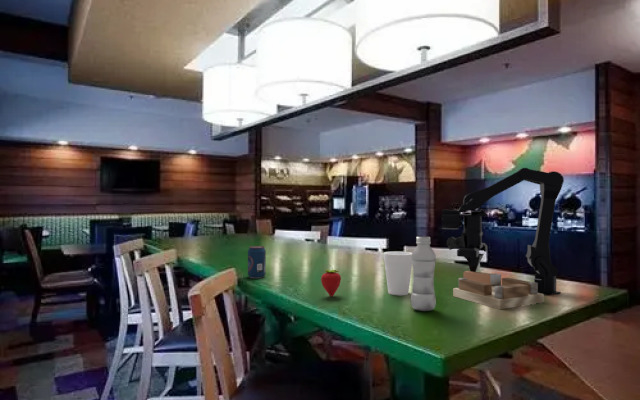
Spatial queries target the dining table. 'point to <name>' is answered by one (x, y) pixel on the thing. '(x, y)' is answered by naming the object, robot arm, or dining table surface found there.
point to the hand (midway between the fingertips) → (472, 274)
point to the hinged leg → (483, 277)
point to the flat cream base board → (499, 293)
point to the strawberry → (331, 281)
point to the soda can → (256, 262)
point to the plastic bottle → (423, 275)
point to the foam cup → (398, 272)
